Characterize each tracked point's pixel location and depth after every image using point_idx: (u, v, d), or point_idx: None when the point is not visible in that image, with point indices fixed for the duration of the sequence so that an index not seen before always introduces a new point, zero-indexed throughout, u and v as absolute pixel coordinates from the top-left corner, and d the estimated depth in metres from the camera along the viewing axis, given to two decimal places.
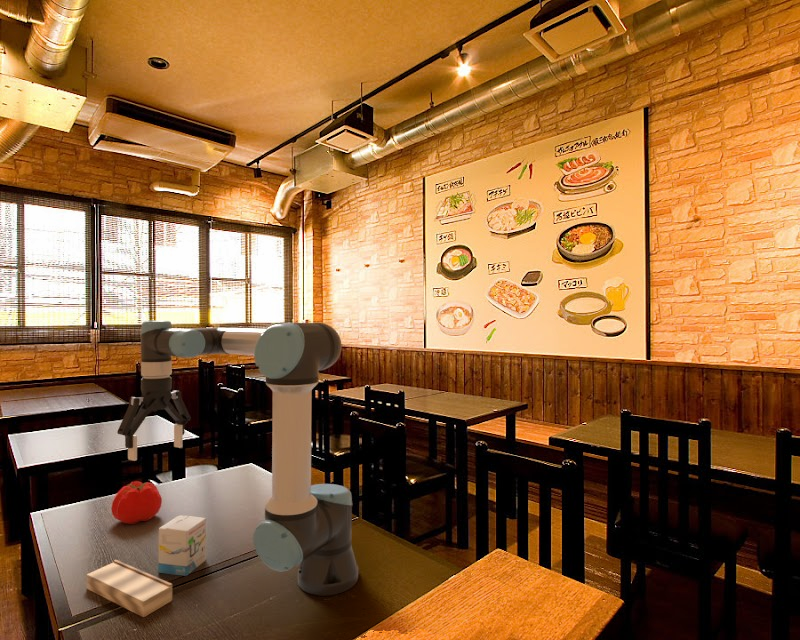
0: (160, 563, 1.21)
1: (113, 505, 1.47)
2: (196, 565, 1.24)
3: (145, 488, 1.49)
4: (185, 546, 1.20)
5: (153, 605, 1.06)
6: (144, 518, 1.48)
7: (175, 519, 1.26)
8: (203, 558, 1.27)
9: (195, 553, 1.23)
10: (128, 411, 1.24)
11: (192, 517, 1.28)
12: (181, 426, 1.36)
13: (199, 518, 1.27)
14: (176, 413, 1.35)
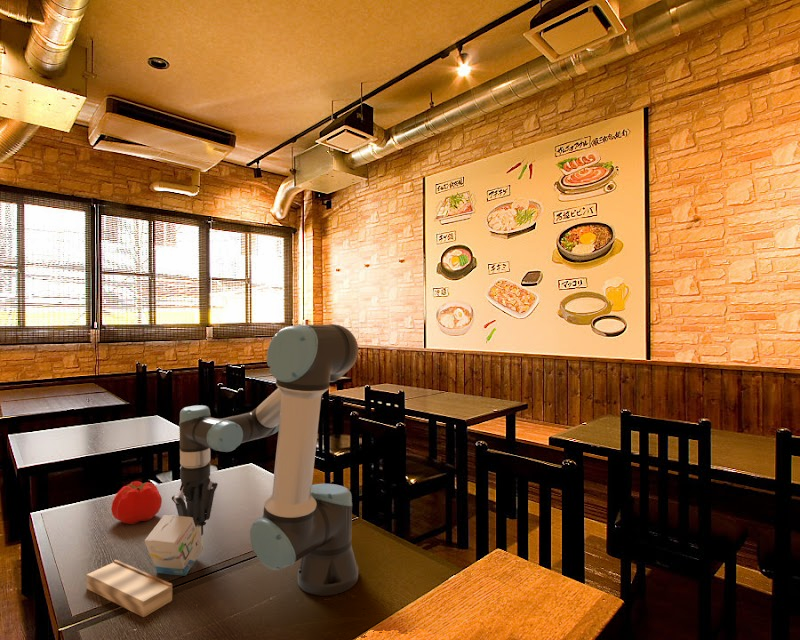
0: (156, 566, 1.20)
1: (113, 505, 1.47)
2: (194, 560, 1.23)
3: (145, 488, 1.49)
4: (176, 554, 1.17)
5: (153, 605, 1.06)
6: (144, 518, 1.48)
7: (160, 523, 1.21)
8: (200, 549, 1.26)
9: (190, 552, 1.21)
10: (178, 509, 1.24)
11: (178, 518, 1.22)
12: (200, 527, 1.28)
13: (185, 519, 1.22)
14: (202, 508, 1.29)
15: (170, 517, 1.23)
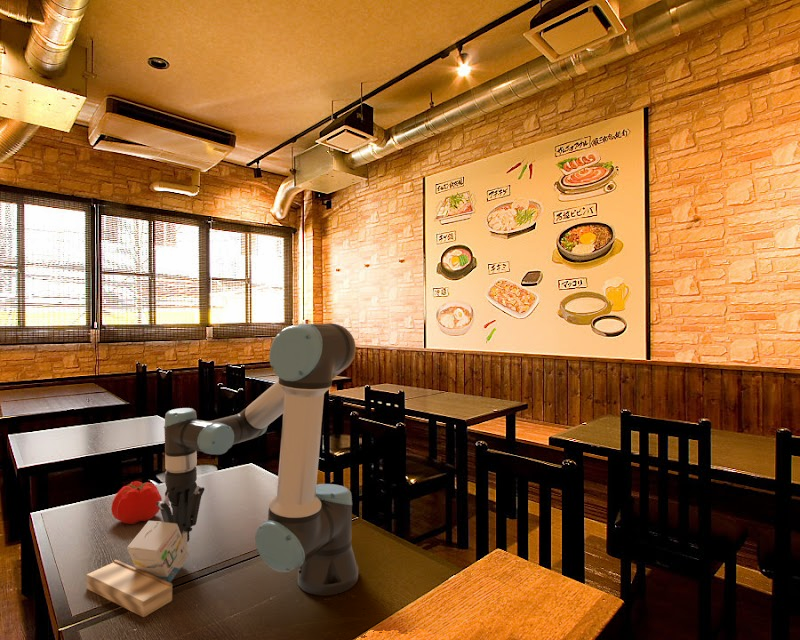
0: None
1: (113, 505, 1.47)
2: (179, 567, 1.19)
3: (145, 488, 1.49)
4: (159, 562, 1.13)
5: (153, 605, 1.06)
6: (144, 518, 1.48)
7: (144, 529, 1.18)
8: (185, 556, 1.22)
9: (174, 559, 1.18)
10: (163, 515, 1.20)
11: (162, 524, 1.19)
12: (186, 534, 1.24)
13: (169, 525, 1.18)
14: (188, 514, 1.25)
15: (154, 523, 1.19)
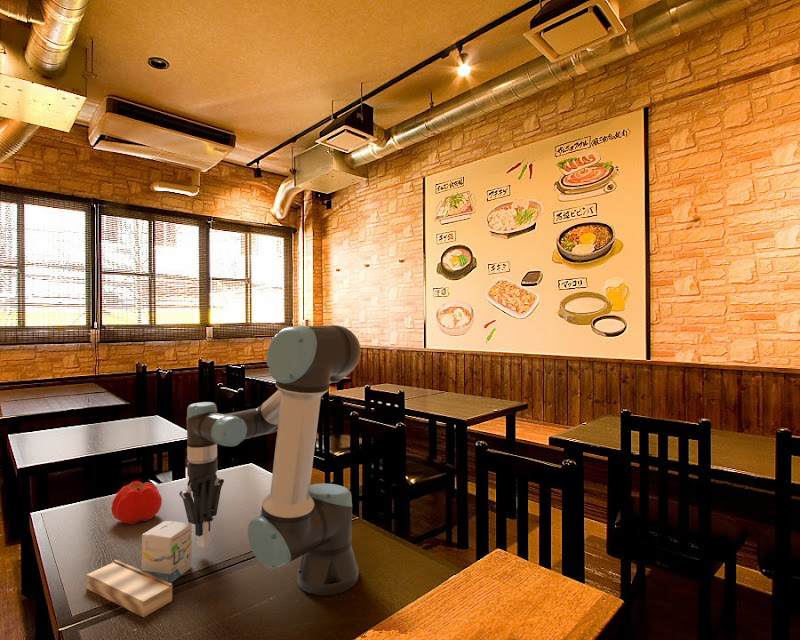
0: (143, 570, 1.18)
1: (113, 505, 1.47)
2: (180, 573, 1.20)
3: (145, 488, 1.49)
4: (168, 553, 1.16)
5: (153, 605, 1.06)
6: (144, 518, 1.48)
7: (160, 525, 1.23)
8: (188, 566, 1.23)
9: (180, 560, 1.20)
10: (185, 504, 1.25)
11: (177, 523, 1.24)
12: (207, 523, 1.29)
13: (184, 524, 1.23)
14: (209, 504, 1.30)
15: (170, 522, 1.24)
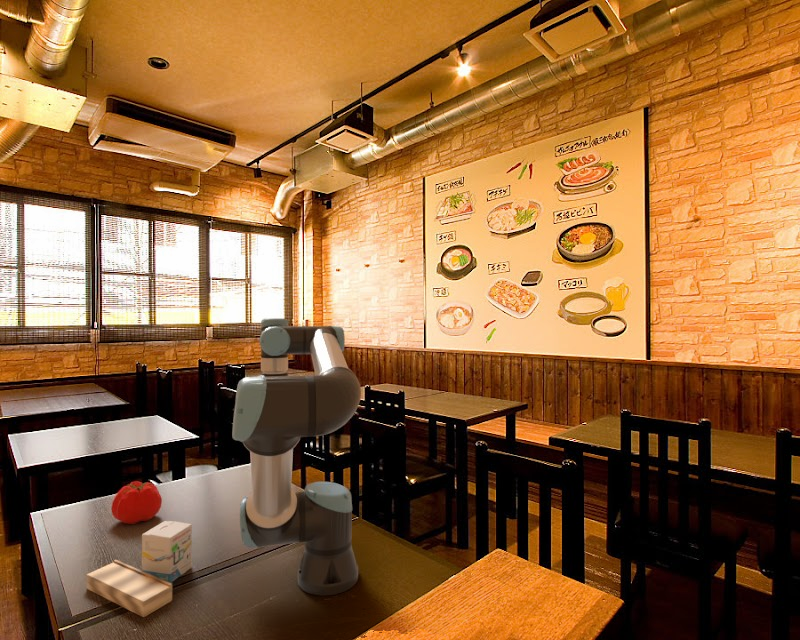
0: (143, 570, 1.18)
1: (113, 505, 1.47)
2: (180, 573, 1.20)
3: (145, 488, 1.49)
4: (168, 553, 1.16)
5: (153, 605, 1.06)
6: (144, 518, 1.48)
7: (160, 525, 1.23)
8: (188, 566, 1.23)
9: (180, 560, 1.20)
10: None
11: (178, 523, 1.24)
12: None
13: (185, 524, 1.23)
14: None
15: (170, 522, 1.24)
